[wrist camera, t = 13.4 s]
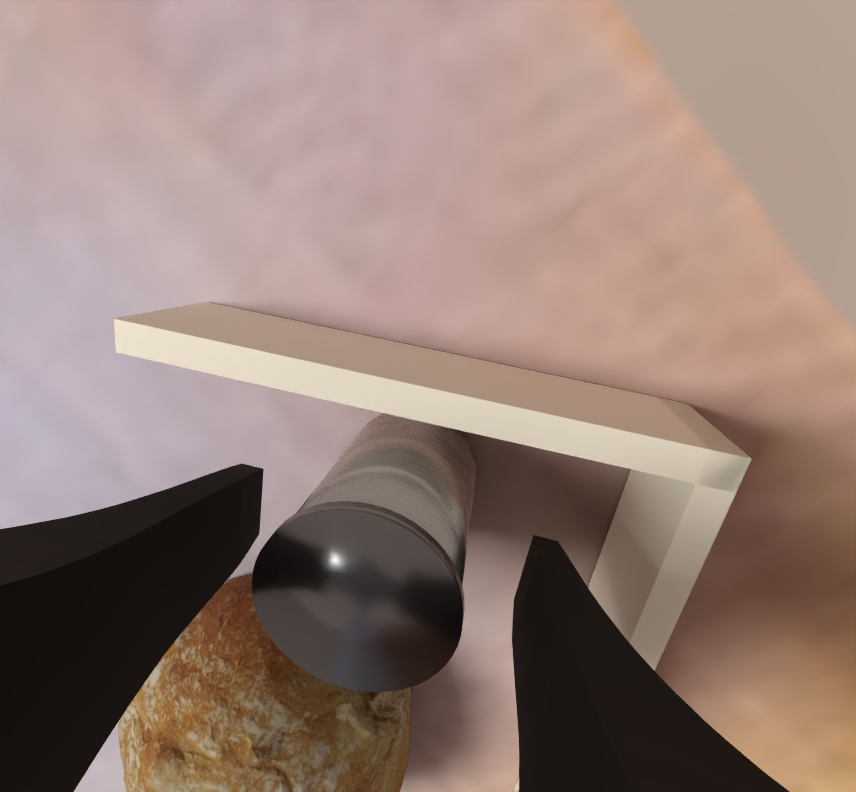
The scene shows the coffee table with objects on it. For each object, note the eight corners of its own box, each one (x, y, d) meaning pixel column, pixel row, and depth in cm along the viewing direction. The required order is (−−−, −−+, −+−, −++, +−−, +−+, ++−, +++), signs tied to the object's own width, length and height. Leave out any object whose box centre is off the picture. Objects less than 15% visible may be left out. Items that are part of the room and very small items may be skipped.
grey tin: (466, 538, 15) (441, 714, 9) (342, 510, 15) (248, 661, 10) (492, 421, 14) (482, 543, 8) (355, 392, 14) (255, 490, 8)
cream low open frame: (512, 853, 19) (514, 978, 16) (199, 755, 21) (141, 852, 17) (686, 403, 13) (751, 458, 9) (207, 302, 14) (114, 318, 11)
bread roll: (452, 630, 21) (497, 762, 13) (312, 832, 20) (268, 1111, 12) (273, 503, 20) (204, 558, 12) (120, 704, 19) (-61, 906, 11)
